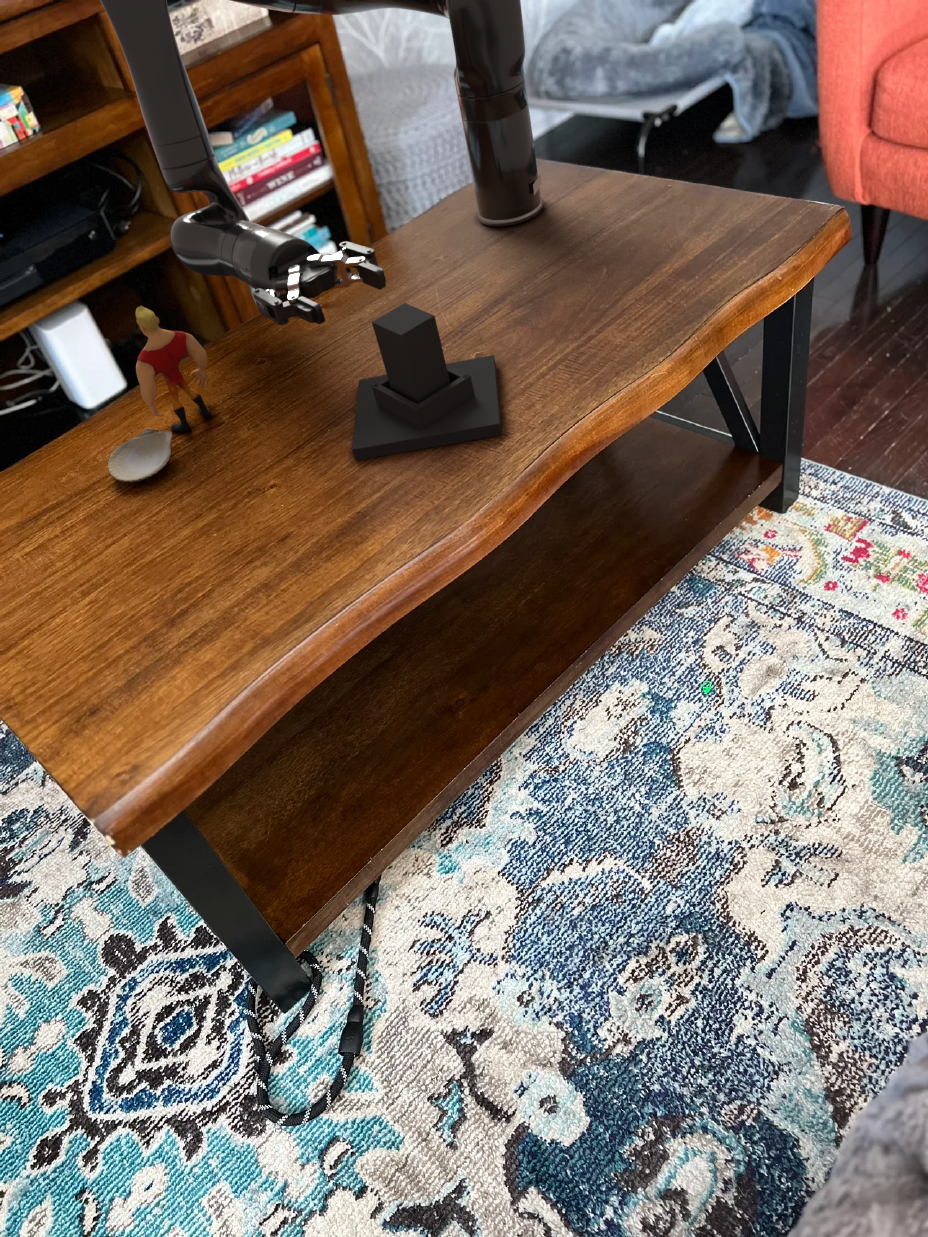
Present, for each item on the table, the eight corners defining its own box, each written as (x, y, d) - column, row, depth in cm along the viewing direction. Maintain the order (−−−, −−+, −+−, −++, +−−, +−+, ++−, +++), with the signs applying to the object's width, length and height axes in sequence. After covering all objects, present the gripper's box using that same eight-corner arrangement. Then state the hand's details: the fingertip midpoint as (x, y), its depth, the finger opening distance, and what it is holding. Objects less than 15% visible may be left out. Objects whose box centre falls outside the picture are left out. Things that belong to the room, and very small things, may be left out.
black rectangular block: (394, 402, 107) (371, 321, 100) (425, 383, 108) (404, 302, 101) (422, 418, 104) (400, 335, 97) (454, 398, 105) (434, 315, 98)
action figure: (214, 397, 119) (164, 283, 108) (231, 403, 117) (183, 289, 106) (154, 438, 114) (96, 325, 104) (171, 446, 112) (114, 331, 102)
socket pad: (362, 390, 113) (353, 360, 110) (496, 365, 111) (490, 334, 108) (355, 460, 103) (345, 430, 100) (502, 435, 101) (495, 403, 98)
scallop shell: (113, 492, 111) (151, 493, 106) (94, 473, 109) (132, 473, 104) (154, 441, 115) (193, 439, 110) (136, 422, 113) (175, 420, 108)
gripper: (215, 260, 111) (288, 294, 100) (314, 208, 116) (393, 236, 105) (238, 319, 116) (310, 357, 106) (332, 267, 121) (409, 299, 111)
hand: (352, 297), depth 106 cm, fingers open, 8 cm apart
